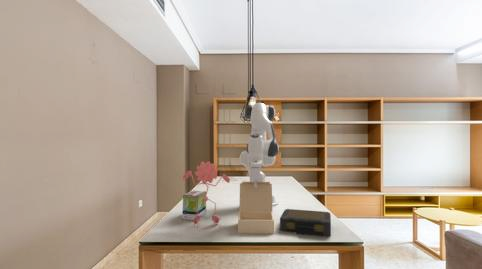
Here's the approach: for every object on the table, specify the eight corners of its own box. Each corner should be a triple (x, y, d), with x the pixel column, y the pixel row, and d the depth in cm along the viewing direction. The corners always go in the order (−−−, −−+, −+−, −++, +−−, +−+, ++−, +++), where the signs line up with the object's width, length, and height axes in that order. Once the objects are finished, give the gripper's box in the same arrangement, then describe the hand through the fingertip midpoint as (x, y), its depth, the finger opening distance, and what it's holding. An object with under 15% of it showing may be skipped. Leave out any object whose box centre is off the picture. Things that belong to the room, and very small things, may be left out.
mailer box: (272, 224, 156) (272, 212, 157) (274, 234, 140) (274, 220, 141) (239, 224, 157) (239, 211, 157) (238, 234, 141) (238, 220, 141)
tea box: (198, 220, 164) (198, 195, 164) (182, 219, 166) (182, 194, 166) (206, 213, 179) (206, 190, 179) (191, 213, 181) (191, 189, 181)
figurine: (230, 227, 151) (230, 162, 152) (181, 228, 149) (181, 162, 150) (229, 219, 167) (229, 160, 168) (184, 221, 164) (185, 160, 166)
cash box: (330, 225, 156) (330, 211, 156) (330, 238, 137) (330, 222, 137) (285, 221, 163) (285, 208, 163) (279, 232, 144) (279, 217, 144)
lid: (272, 211, 155) (272, 212, 157) (271, 181, 162) (271, 183, 164) (239, 210, 156) (239, 211, 158) (239, 181, 163) (240, 182, 165)
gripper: (250, 161, 171) (250, 184, 171) (249, 164, 151) (249, 190, 151) (260, 161, 171) (260, 184, 171) (261, 164, 151) (261, 190, 150)
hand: (255, 187), depth 161 cm, fingers closed
